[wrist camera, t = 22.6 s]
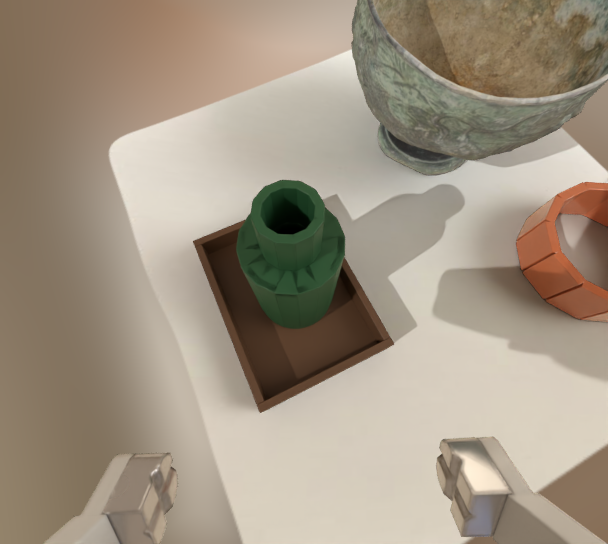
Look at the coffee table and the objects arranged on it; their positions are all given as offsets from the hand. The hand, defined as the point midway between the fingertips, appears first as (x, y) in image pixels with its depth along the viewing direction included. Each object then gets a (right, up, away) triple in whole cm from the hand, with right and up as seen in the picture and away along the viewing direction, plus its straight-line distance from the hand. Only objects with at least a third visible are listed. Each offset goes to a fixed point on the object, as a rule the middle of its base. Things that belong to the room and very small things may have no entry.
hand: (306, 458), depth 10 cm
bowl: (+14, +20, +25) cm, 35 cm away
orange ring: (+26, +7, +20) cm, 33 cm away
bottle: (-1, +4, +18) cm, 19 cm away
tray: (-1, +3, +19) cm, 19 cm away
